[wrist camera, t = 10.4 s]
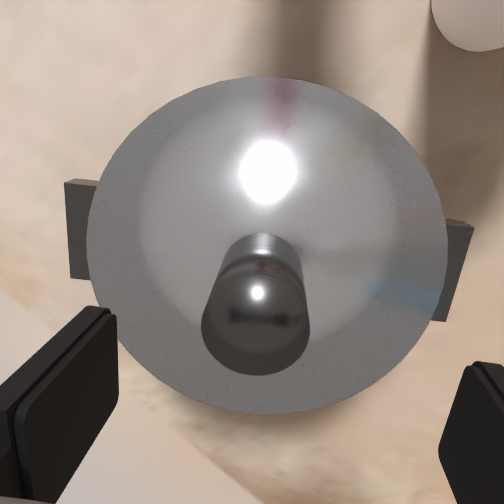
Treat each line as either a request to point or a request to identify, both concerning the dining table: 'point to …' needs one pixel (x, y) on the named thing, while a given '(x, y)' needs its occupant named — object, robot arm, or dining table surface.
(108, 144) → the dining table surface
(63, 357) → the robot arm
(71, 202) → the pot
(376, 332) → the lid
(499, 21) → the candle
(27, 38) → the dining table surface
